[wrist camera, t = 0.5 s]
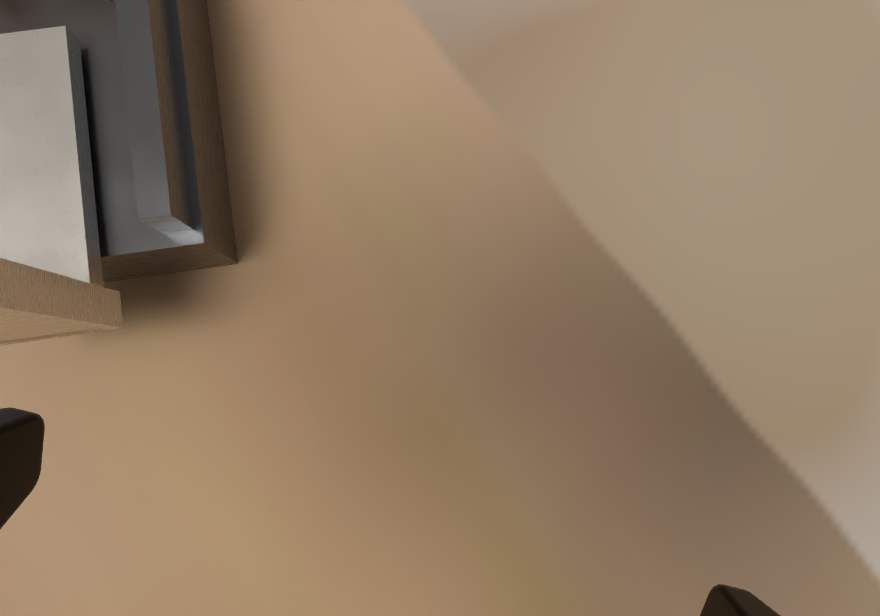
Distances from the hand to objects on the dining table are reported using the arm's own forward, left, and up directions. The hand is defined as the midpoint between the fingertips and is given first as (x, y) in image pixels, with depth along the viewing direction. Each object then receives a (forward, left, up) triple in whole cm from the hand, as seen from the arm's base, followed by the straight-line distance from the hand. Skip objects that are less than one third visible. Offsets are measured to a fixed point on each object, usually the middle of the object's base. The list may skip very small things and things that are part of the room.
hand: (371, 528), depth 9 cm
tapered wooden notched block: (-7, +13, -13) cm, 19 cm away
